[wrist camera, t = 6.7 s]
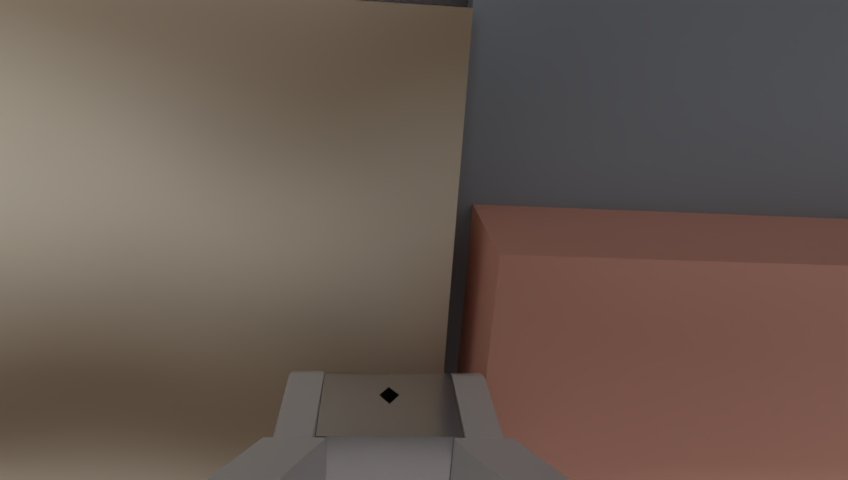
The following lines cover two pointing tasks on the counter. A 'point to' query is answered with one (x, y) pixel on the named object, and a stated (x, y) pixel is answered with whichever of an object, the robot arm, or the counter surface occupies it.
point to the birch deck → (215, 218)
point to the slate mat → (653, 111)
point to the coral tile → (662, 341)
